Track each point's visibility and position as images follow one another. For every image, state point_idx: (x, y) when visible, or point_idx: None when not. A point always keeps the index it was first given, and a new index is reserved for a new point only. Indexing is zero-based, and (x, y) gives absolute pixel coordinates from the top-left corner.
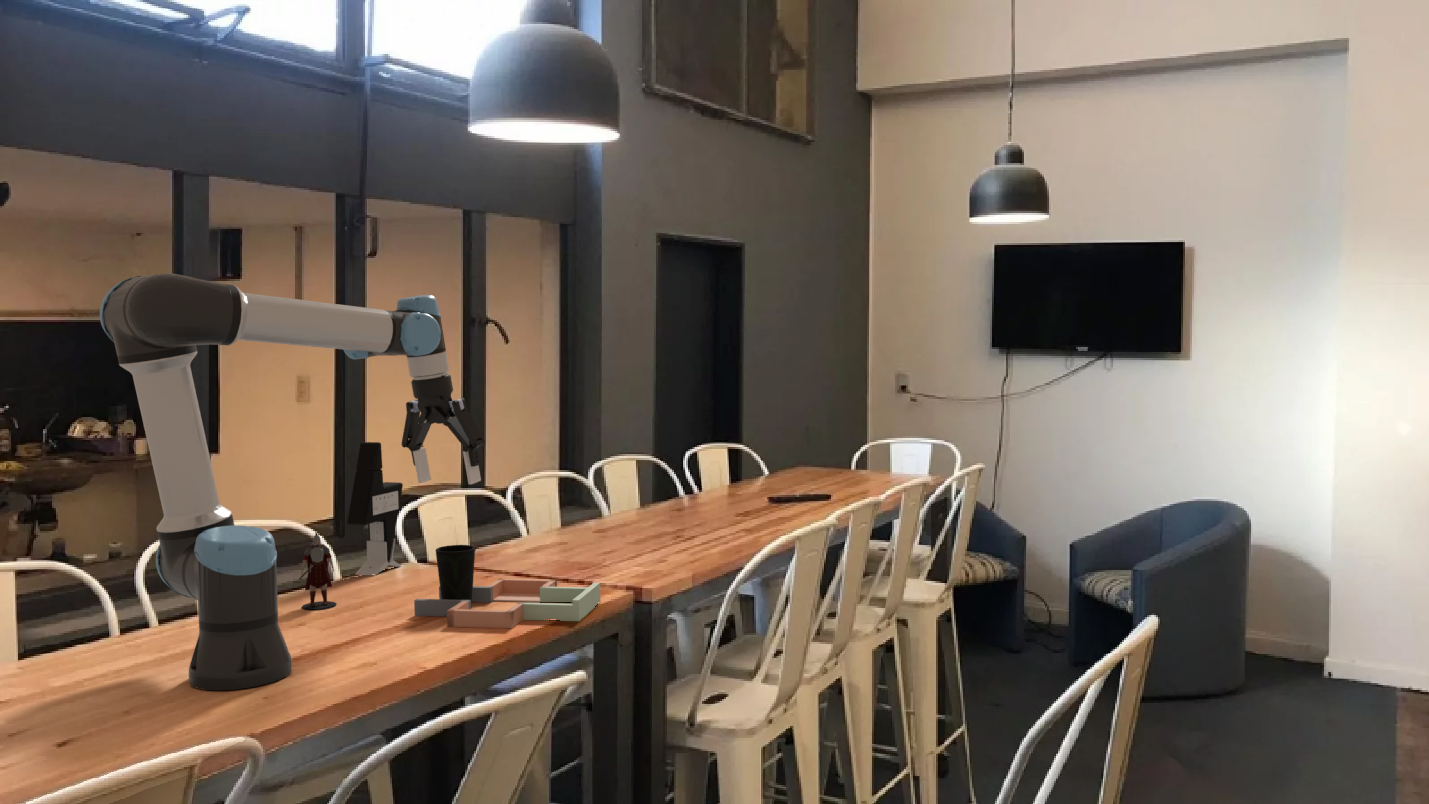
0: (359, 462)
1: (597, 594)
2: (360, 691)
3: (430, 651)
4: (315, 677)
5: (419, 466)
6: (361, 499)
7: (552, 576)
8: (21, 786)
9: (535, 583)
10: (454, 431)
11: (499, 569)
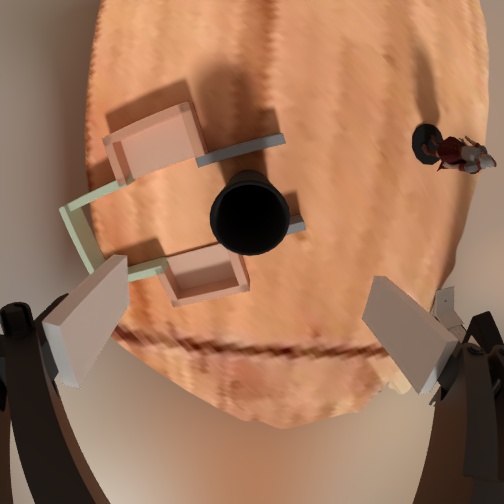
0: None
1: None
2: None
3: (139, 19)
4: None
5: (404, 309)
6: (491, 340)
7: (243, 355)
8: None
9: (195, 293)
10: (41, 447)
11: (320, 359)
